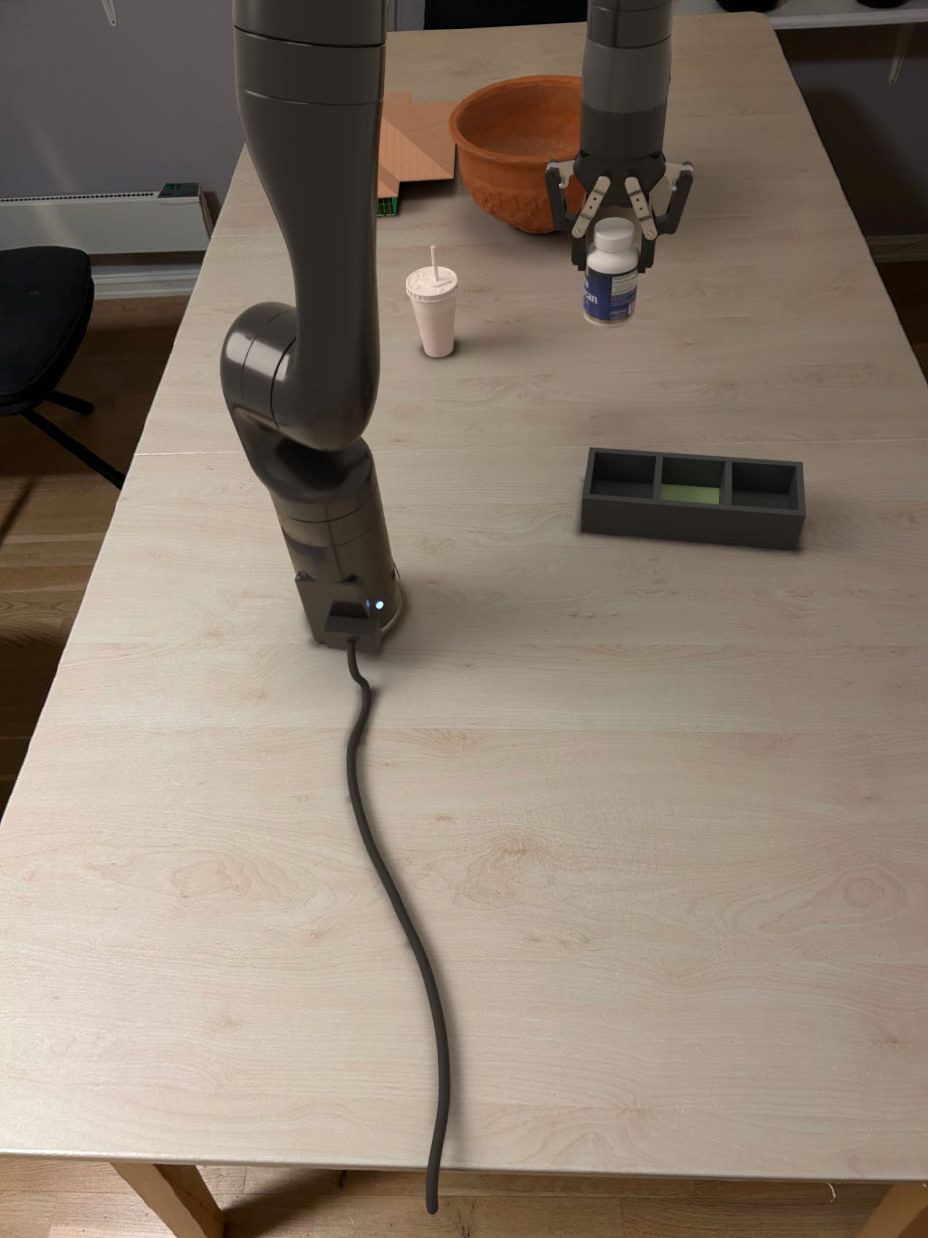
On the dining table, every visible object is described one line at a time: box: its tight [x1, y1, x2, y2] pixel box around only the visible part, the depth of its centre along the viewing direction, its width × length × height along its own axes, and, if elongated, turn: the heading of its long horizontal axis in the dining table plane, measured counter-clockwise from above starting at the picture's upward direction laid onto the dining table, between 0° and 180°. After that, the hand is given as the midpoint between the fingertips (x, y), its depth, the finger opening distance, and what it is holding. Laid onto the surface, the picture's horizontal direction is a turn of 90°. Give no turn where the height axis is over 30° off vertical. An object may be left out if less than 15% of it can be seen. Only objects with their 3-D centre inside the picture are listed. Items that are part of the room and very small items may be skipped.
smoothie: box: [405, 245, 460, 358], centre depth 114 cm, size 6×6×14 cm
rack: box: [580, 446, 807, 551], centre depth 97 cm, size 8×22×5 cm, turn 80°
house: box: [377, 92, 459, 217], centre depth 147 cm, size 23×33×8 cm
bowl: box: [448, 74, 600, 234], centre depth 131 cm, size 25×25×15 cm
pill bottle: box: [582, 216, 640, 329], centre depth 95 cm, size 5×5×10 cm
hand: (612, 267), depth 94 cm, fingers closed on pill bottle, 5 cm apart
